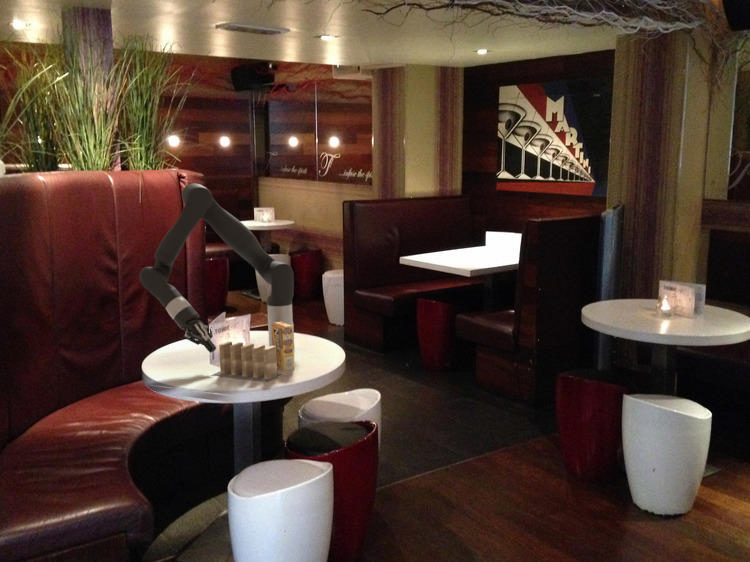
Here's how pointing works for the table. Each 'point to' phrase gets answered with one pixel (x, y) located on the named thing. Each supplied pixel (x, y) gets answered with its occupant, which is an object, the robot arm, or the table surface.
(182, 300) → the robot arm
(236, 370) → the domino
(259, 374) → the domino
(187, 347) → the table surface
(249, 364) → the domino
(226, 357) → the domino
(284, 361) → the candy box
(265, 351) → the domino
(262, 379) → the mat
